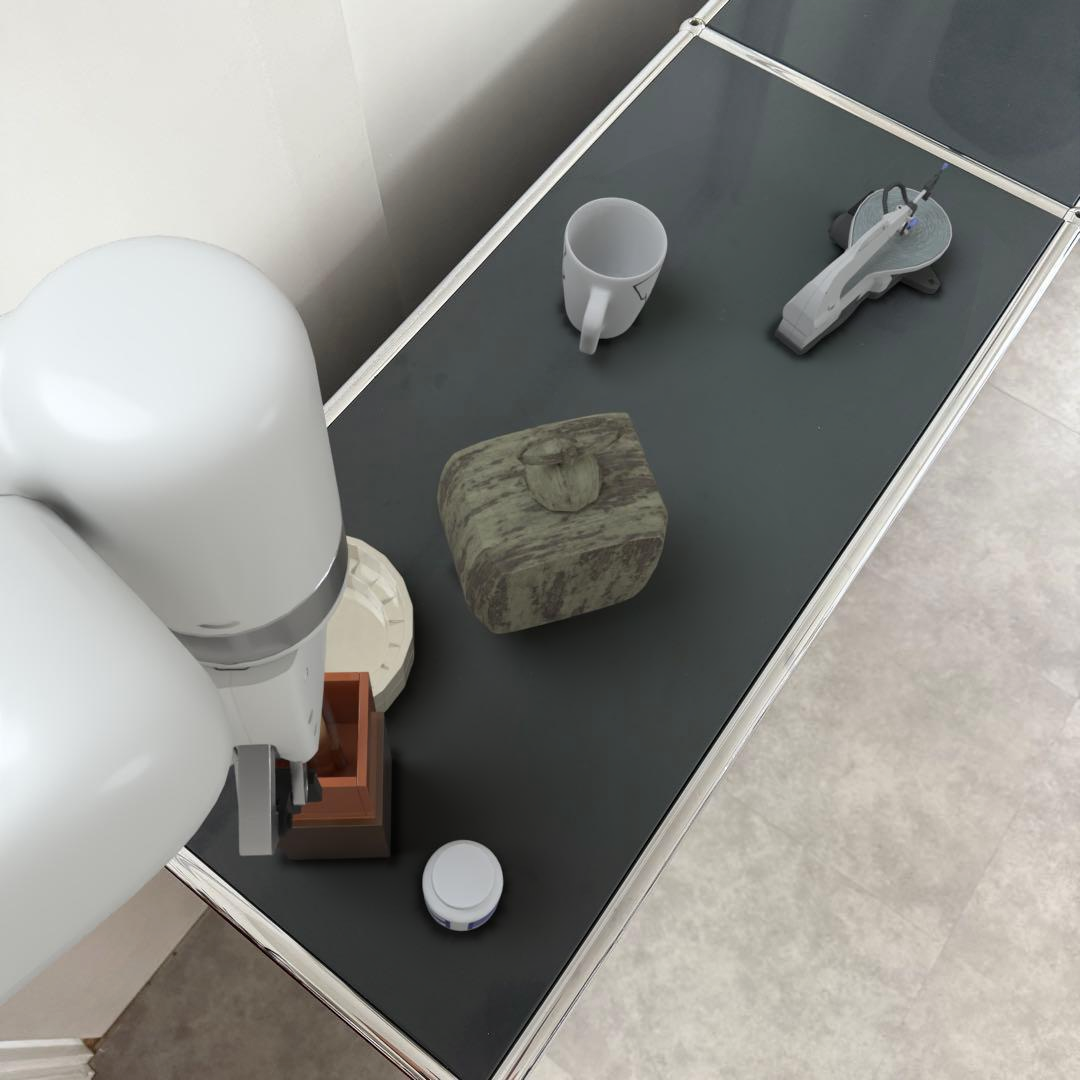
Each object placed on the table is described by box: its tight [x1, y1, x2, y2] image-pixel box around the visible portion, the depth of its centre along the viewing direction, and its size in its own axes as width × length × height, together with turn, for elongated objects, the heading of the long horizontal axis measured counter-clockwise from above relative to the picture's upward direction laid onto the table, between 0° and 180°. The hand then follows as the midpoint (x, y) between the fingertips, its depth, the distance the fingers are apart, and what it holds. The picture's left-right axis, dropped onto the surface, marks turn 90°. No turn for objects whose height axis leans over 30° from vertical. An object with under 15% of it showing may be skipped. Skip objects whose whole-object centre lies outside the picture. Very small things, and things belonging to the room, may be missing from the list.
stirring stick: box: [306, 714, 345, 777], centre depth 57 cm, size 2×2×20 cm
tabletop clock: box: [436, 412, 669, 635], centre depth 76 cm, size 14×9×25 cm, turn 107°
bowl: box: [325, 535, 415, 713], centre depth 81 cm, size 14×14×6 cm
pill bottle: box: [421, 839, 504, 932], centre depth 73 cm, size 5×5×9 cm
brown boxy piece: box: [275, 672, 393, 861], centre depth 69 cm, size 7×7×23 cm
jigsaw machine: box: [774, 162, 953, 356], centre depth 97 cm, size 20×11×12 cm
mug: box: [561, 197, 668, 355], centre depth 93 cm, size 11×8×10 cm
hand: (292, 693), depth 52 cm, fingers open, 9 cm apart
